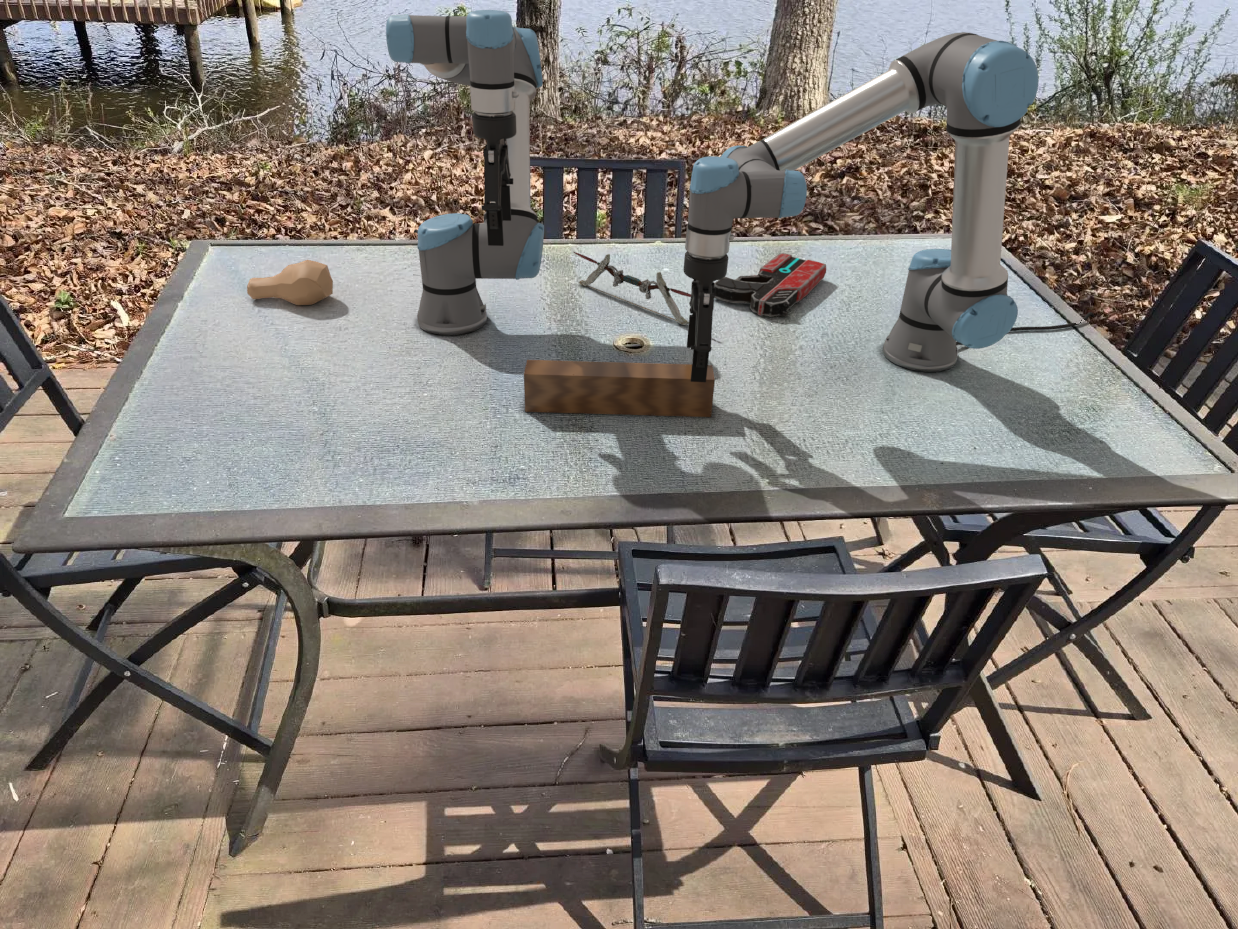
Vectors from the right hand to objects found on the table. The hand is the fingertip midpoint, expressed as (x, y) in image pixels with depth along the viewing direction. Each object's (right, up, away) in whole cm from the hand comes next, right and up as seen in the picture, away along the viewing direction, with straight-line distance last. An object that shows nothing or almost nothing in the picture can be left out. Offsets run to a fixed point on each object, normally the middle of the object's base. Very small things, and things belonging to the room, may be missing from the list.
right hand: (695, 363), depth 162 cm
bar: (-14, -8, +5) cm, 17 cm away
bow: (-11, +19, +46) cm, 51 cm away
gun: (+23, +24, +54) cm, 64 cm away
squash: (-90, +20, +43) cm, 102 cm away
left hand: (-36, +25, +1) cm, 44 cm away
